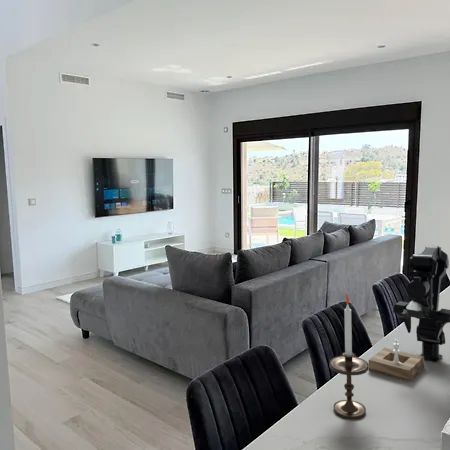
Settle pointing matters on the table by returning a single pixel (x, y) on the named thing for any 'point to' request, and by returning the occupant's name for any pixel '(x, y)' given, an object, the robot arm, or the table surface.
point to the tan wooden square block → (396, 364)
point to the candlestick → (349, 373)
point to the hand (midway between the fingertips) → (422, 335)
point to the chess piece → (396, 351)
